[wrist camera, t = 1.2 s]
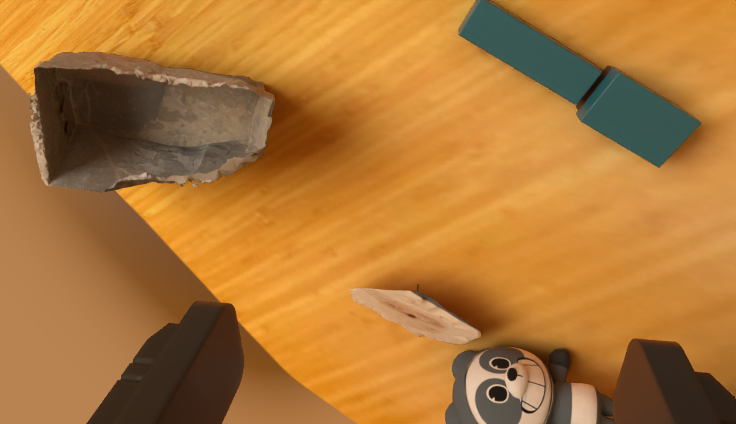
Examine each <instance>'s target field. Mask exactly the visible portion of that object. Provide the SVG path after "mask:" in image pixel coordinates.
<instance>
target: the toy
mask: <svg viewBox="0 0 736 424" xmlns="http://www.w3.org/2000/svg"><path fill="white" fill-rule="evenodd" d="M548 365H549V370H548V368H547V367H546V365H545V364H544V363H543V362H542V361H541V360H540V359H539V358H538V357H536V356H535V355H534V354H532V353H530V352H528V351H526V350H522V349H519V348H514V347H505V346H500V347H494V348H487V349H484V350H481V351H479V352H477V353H476V352H474V351H465V352H462V353H461V354H459V355H458V356H457V357H456V358H455V360H454V362H453V365H452V372H453V375H454V377H455V382H454V386H453V403H451V404H450V405H449V407H448V408H447V410H446V413H445V421H446V424H614V419H611V418H608V417H606V416H613V400H612V399H610V398H609V397H607V396H605V395H603V394H602V393H600V392H599V391H598V390H597V389H596V388H595V387H594V386H592V385H589V384H584V383H566V377H567V373H568V370H569V367H570V365H571V356H570V353H569V352H568V351H567V350H565V349H556V350H554V351H553V352H552V353H551V354H550V356H549V364H548ZM549 371H550V372H549Z"/></svg>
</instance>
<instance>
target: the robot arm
mask: <svg viewBox="0 0 736 424" xmlns="http://www.w3.org/2000/svg"><path fill="white" fill-rule="evenodd" d="M243 368H244V354H243V349H242V343H241V338H240V333H239V327H238V322H237V316H236V311H235V308H234V306H233V305H232V304H230V303H218V302H206V301H196V302H195V303H193V304H192V306H191V307H190V308H189V310H188V311H187V313H186V314H185V316H184V317H183V319H182V320H181V322H180V323H179V324H174V323H169V324H167V325H166V326H164V327H163V328H162V329H161V330H159V331H158V332H157V333H155V334H154V335H153V336H151V337H150V338H149V339H147V341H146V342H145V344H144V345H143V346H142V348H141V349H140V350H139V352H138V353H137V355H136V356H135V357H134V359H133V363H130V364H129V366H128V367H127V368H126V370H125V371H124V373H123V374H122V375H121V380H118V381H117V382H116V384H115V385H114V386H113V388H112V389H111V391H110V392H109V393H108V395H107V396H106V397H105V399H104V400H103V402H102V403H101V404H100V406H99V407H98V409H97V410H96V411H95V413H94V414H93V415H92V417H91V418H90V420H89V421H88V422H87V424H222V422H223V420H224V417H225V416H226V413H227V411H228V409H229V407H230V405H231V403H232V400H233V398H234V396H235V393H236V392H237V389H238V387H239V385H240V382H241V379H242V374H243ZM613 419H614V424H736V399H735V397H734V396H733V395H732V394H731V393H730V392H729V391H728V390H727V389H725V388H724V387H723V386H722V385H721V384H720V383H719V382H718V381H717V380H716V379H715V378H714V377H713V376H712V375H711V374H710V373H701V372H694V370H693V368H692V366H691V364H690V362H689V360H688V358H687V356H686V354H685V352H684V350H683V349H682V347H681V346H680V345H679V344H678V343H676V342H669V341H657V340H645V339H633V340H631V342H630V343H629V346H628V349H627V352H626V355H625V358H624V362H623V365H622V368H621V371H620V375H619V378H618V381H617V384H616V388H615V391H614V395H613Z"/></svg>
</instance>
